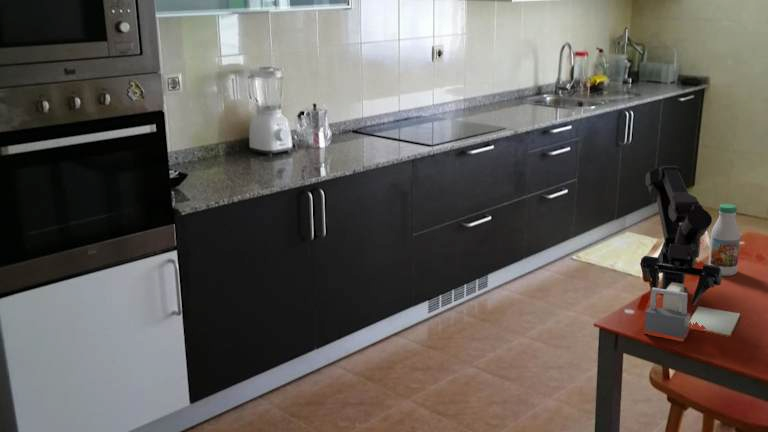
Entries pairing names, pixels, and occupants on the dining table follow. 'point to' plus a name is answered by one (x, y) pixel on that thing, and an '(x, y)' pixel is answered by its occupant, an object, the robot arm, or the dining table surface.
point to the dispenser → (667, 316)
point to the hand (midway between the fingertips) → (673, 301)
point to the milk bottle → (725, 241)
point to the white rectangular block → (673, 298)
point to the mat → (715, 320)
